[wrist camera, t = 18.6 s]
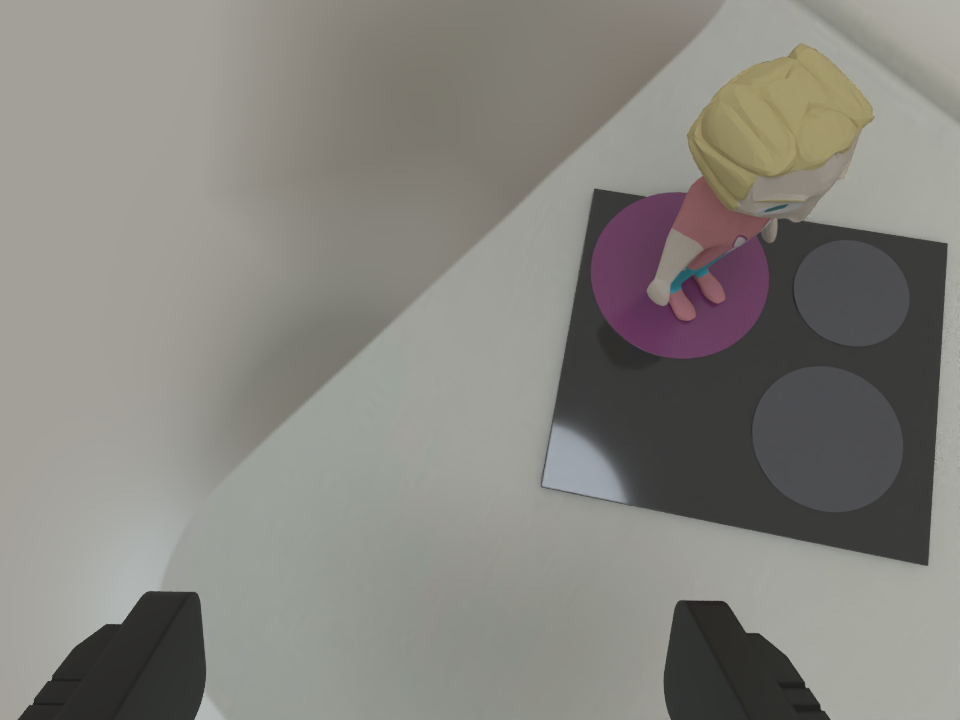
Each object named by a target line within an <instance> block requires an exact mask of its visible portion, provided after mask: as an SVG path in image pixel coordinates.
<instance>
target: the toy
mask: <svg viewBox="0 0 960 720" xmlns="http://www.w3.org/2000/svg"><path fill="white" fill-rule="evenodd" d="M872 109H873V108H872V107H871V105H870V103H869V102H868V100H867V99H866V98H865V97H864V95H863V94H862V93H861V91H860V90H859V89H858V88H857V87H856V86H855V85H854V84H853V83H852V82H851V81H850V80H849V79H848V77H847V76H846V75H845V74H844V73H843V72H842V71H841V70H840V69H839V68H838V67H837V66H836V65H835V64H833V63H832V62H831V61H830V60H829V59H828V58H827V57H825V56H824V55H822V54H821V53H819V52H818V51H817V50H816V49H814V48H812V47H809V46H807V45H805V44H799V45H798V46H797V47H796V48H795V49H794V50H793V51H792V52H791V53H790V55H789V56H788V57H782V58H778V59H775V60H772V61H767V62H763V63H760V64H757V65H754V66H752V67H750V68H748V69H746V70H744V71H743V72H741V73H740V74H738V75H737V76H735V77H734V78H733V79H732V80H730V81H729V82H728V83H727V84H726V85H724V86H723V87H722V88H721V89H720V90H719V91H718V92H717V93H716V94H715V95H714V97H713V99H712V100H711V102H710V104H709V105H708V106H706V107H705V108H704V109H703V111H702V112H701V114H700V116H699V117H698V119H697V120H696V121H695V122H694V124H693V125H692V127H691V128H690V130H689V132H688V134H687V135H688V144H689V148H690V151H691V153H692V155H693V159H694V161H695V162H696V164H697V166H698V168H699V169H700V171H701V173H702V175H703V176H702V177H701V178H699V179H698V180H697V181H696V182H695V183H694V184H693V185H692V186H691V188H690V189H689V191H688V193H687V194H686V197H685V199H684V202H683V204H682V206H681V209H680V211H679V213H678V215H677V217H676V219H675V222H674V224H673V226H672V228H671V230H670V232H669V235H668V237H667V240H666V243H665V247H664V250H663V253H662V257H661V260H660V263H659V267H658V270H657V273H656V276H655V279H654V280H653V281H652V282H651V283H650V285H649V287H648V288H647V293H648V296H649V298H650V299H651V300H652V301H653V302H655V303H656V304H658V305H661V306H665V305H667V304H668V302H669V303H670V305H671V307H672V309H673V312H674V314H675V315H676V317H677V318H678V319H680V320H684V321H690V320H692V319H694V318H695V317H696V312H695V308H694V306H693V305H692V303H691V302H690V301H689V299H688V298H687V297H686V296H685V295H684V293H683V290H682V287H681V284H682V283H683V282H684V281H685V280H687V279H688V278H689V277H691V276H693V278H694V279H695V281H696V282H697V284H698V285H699V286H700V288H701V291H702V293H703V294H704V296H705V297H706V298H707V299H709V300H710V301H712V302H714V303H718V304H719V303H721V302H722V301H724V300H725V293H724V290H723V288H722V286H721V284H720V283H719V282H718V281H717V280H716V279H715V278H714V276H713V275H712V274H711V273H710V272H709V270H708V269H707V268H708V267H709V266H710V265H712V264H713V263H715V262H716V261H718V260H719V259H721V258H722V257H724V256H725V255H726V254H728V253H729V252H731V251H733V250H734V249H736V248H738V247H739V246H741V245H742V244H743V243H745V242H746V241H748V240H750V239H751V238H753V237H754V236H756V235H757V234H758V233H759V232H761V235H762V237H763V239H764V240H765V241H766V242H768V243H772V242H774V240H775V238H776V235H777V226H778V225H777V219H783V218H788V219H789V220H791V221H792V222H801V221H803V220H804V219H805V218H806V217H807V215H808V214H809V213H810V212H811V211H812V209H813V208H814V207H815V206H816V204H817V202H818V201H819V200H820V199H821V198H822V196H823V195H824V194H825V193H826V192H827V191H828V190H829V189H830V188H831V187H832V186H833V185H834V184H835V182H836V181H837V180H840V179H843V178H844V176H845V174H846V171H847V169H848V166H849V164H850V161H851V159H852V156H853V153H854V150H855V147H856V144H857V141H858V138H859V135H860V133H861V130H862V128H863V127H864V126H866V125H867V124H868V123H870V122H871V121H872V120H873V119H874V118H875V117H874V116H873V114H872Z"/></svg>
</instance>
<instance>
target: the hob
mask: <svg viewBox="0 0 960 720" xmlns="http://www.w3.org/2000/svg"><path fill="white" fill-rule="evenodd" d="M686 194H687V193H680V192H679V193H663V194H657V195H653V196H649V197H645V196H639V195H632V194H626V193H619V192H613V191H606V190H600V189H594V193H593V199H592V204H591V210H590V215H589V221H588V227H587V232H586V238H585V243H584V249H583V254H582V260H581V265H580V271H579V276H578V282H577V288H576V293H575V299H574V304H573V310H572V315H571V321H570V326H569V332H568V337H567V343H566V348H565V354H564V360H563V365H562V371H561V376H560V382H559V387H558V393H557V398H556V404H555V409H554V415H553V421H552V426H551V432H550V437H549V443H548V448H547V454H546V459H545V465H544V470H543V476H542V482H541V487H543V488H548V489H553V490H558V491H562V492H567V493H572V494H577V495H582V496H587V497H592V498H597V499H602V500H606V501H611V502H616V503H621V504H626V505H631V506H636V507H641V508H646V509H651V510H655V511H660V512H665V513H670V514H675V515H680V516H685V517H690V518H695V519H699V520H704V521H709V522H714V523H719V524H724V525H729V526H734V527H739V528H744V529H748V530H753V531H758V532H763V533H768V534H773V535H778V536H783V537H788V538H792V539H797V540H802V541H807V542H812V543H817V544H822V545H827V546H832V547H837V548H841V549H846V550H851V551H856V552H861V553H866V554H871V555H876V556H881V557H885V558H890V559H895V560H900V561H905V562H910V563H915V564H920V565H925V566H928V558H929V541H930V525H931V509H932V492H933V476H934V459H935V443H936V427H937V410H938V394H939V378H940V361H941V345H942V329H943V312H944V296H945V279H946V263H947V247H948V244H947V243H941V242H934V241H928V240H921V239H915V238H908V237H902V236H896V235H889V234H883V233H876V232H870V231H863V230H857V229H851V228H844V227H838V226H831V225H825V224H818V223H812V222H806V221H801V222H792V221H791V220H789V219H786V218H783V219H777V225H778V226H777V235H776V238H775V240H774V242H772V243H768V242H766V241H765V240H764V239H763V237H762V235H761V232H759V233H758V234H757V235H756V236H754V237H753V238H751V239H750V240H748V241H746V242H745V243H743V244H742V245H741V246H739V247H738V248H736V249H734V250H733V251H731V252H729V253H728V254H726V255H725V256H724V257H722V258H721V259H719V260H718V261H716V262H715V263H713V264H712V265H710V266H709V267H708V268H707V269H708V270H709V272H710V273H711V274H712V275H713V276H714V278H715V279H716V280H717V281H718V282H719V283H720V284H721V286H722V288H723V290H724V293H725V300H724V301H722V302H721V303H719V304H718V303H714V302H712V301H710V300H709V299H707V298H706V297H705V296H704V294H703V293H702V291H701V288H700V286H699V285H698V284H697V282H696V281H695V279H694V278H693V276H691V277H689V278H688V279H687V280H685V281H684V282H683V283H682V284H681V287H682V290H683V293H684V295H685V296H686V297H687V298H688V299H689V301H690V302H691V303H692V305H693V306H694V308H695V312H696V317H695V318H694V319H692V320H690V321H684V320H680V319H678V318H677V317H676V315H675V314H674V312H673V309H672V307H671V305H670V303H669V302H668V304H667V305H665V306H661V305H658V304H656V303H655V302H653V301H652V300H651V299H650V298H649V296H648V293H647V288H648V287H649V285H650V283H651V282H652V281H653V280H654V279H655V276H656V273H657V270H658V267H659V263H660V260H661V257H662V253H663V250H664V247H665V243H666V240H667V237H668V235H669V232H670V230H671V228H672V226H673V224H674V222H675V219H676V217H677V215H678V213H679V211H680V209H681V206H682V204H683V202H684V199H685V197H686Z"/></svg>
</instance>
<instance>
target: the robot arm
mask: <svg viewBox="0 0 960 720" xmlns="http://www.w3.org/2000/svg"><path fill="white" fill-rule="evenodd" d="M52 676H53V677H52V680H51V681H48V682H47V683H46V684H45V686H44V687H43V688H42V690H41V691H40V692H39V693H38V695H37V696H36V697H35V699H34V703H33V705H29V706H28V708H27V709H26V710H25V711H24V713H23V714H22V715H21V716H20V718H19V719H18V720H194V719H195V717H196V714H197V712H198V710H199V707H200V704H201V701H202V697H203V693H204V688H205V681H206V661H205V650H204V638H203V627H202V615H201V604H200V599H199V596H198V594H197V593H196V592H161V591H154V592H153V591H149V592H146V593H145V594H144V595H143V596H142V597H141V598H140V599H139V601H138V602H137V604H136V605H135V606H134V608H133V609H132V611H131V612H130V613H129V615H128V616H127V618H126V619H125V620H124V622H123V623H122V624H106V625H105V626H103V627H102V628H100V629H99V630H98V631H97V632H95V633H94V634H92V635H91V636H90V637H88V638H87V639H85V640H84V641H83V642H81V643H80V644H79V645H77V646H76V647H75V648H74V649H73V650H72V651H71V652H70V654H69V655H68V656H67V658H66V659H65V660H64V661H63V663H62V664H61V665H60V667H59V668H58V669H57V670H56V672H55V673H54V674H53V675H52ZM664 694H665V701H666V706H667V710H668V713H669V716H670V719H671V720H830V718H829V717H828V715H827V714H826V713H825V711H821V708H820V704H819V702H818V701H817V699H816V698H815V697H814V695H813V694H812V692H811V691H810V689H809V688H806V687H805V682H804V681H803V679H802V678H801V676H800V675H799V673H798V672H797V670H796V669H795V668H794V666H793V665H792V663H791V662H790V660H789V659H788V657H787V656H786V655H785V654H783V653H782V652H781V651H780V650H779V649H777V648H776V647H775V646H774V645H773V644H771V643H770V642H769V641H768V640H766V639H765V638H764V637H763V636H762V635H760V634H759V633H746V632H745V630H744V629H743V627H742V626H741V624H740V623H739V621H738V619H737V618H736V616H735V615H734V613H733V612H732V610H731V608H730V607H729V606H728V604H727V603H725V602H724V601H686V600H680V601H679V602H678V603H677V604H676V606H675V610H674V615H673V621H672V627H671V633H670V640H669V646H668V652H667V658H666V664H665V670H664Z"/></svg>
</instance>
